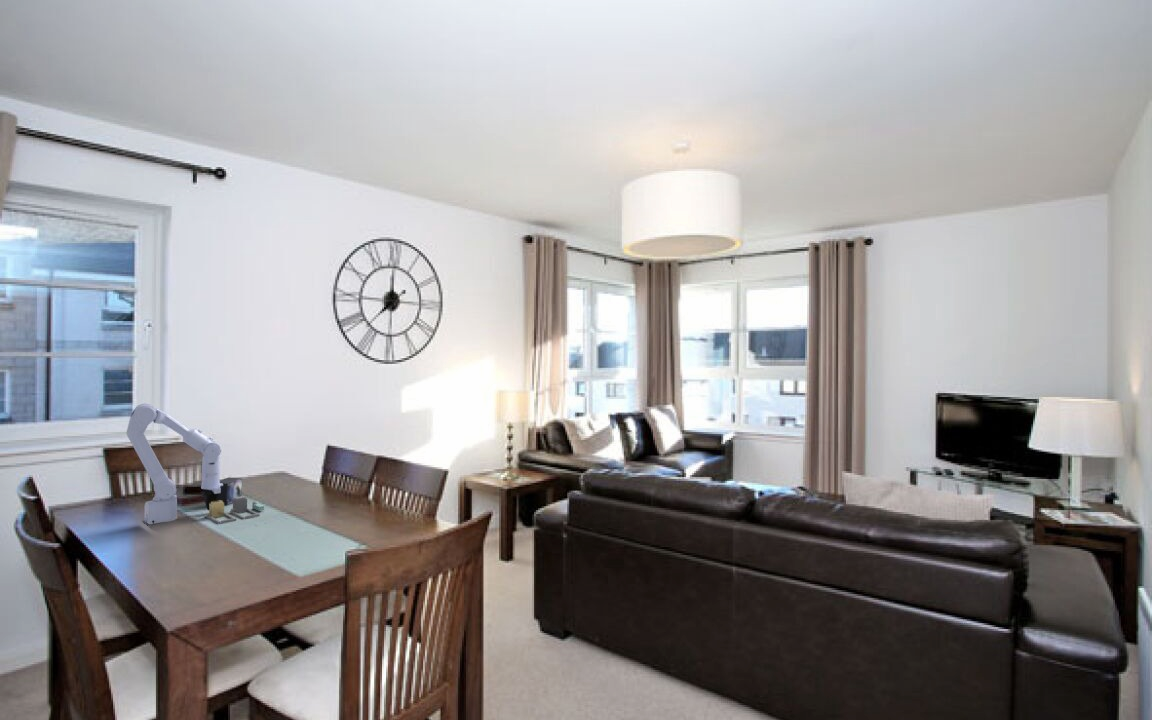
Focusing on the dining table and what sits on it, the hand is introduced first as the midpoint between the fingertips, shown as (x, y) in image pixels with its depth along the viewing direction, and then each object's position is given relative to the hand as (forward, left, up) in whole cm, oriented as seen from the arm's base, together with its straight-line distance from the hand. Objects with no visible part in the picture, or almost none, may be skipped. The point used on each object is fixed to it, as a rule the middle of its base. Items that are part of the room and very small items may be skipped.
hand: (210, 509), depth 222 cm
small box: (+10, +13, -3) cm, 16 cm away
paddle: (+13, -9, -1) cm, 16 cm away
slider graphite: (+8, -6, -1) cm, 10 cm away
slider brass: (0, -6, -1) cm, 6 cm away
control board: (+5, -10, -3) cm, 12 cm away
